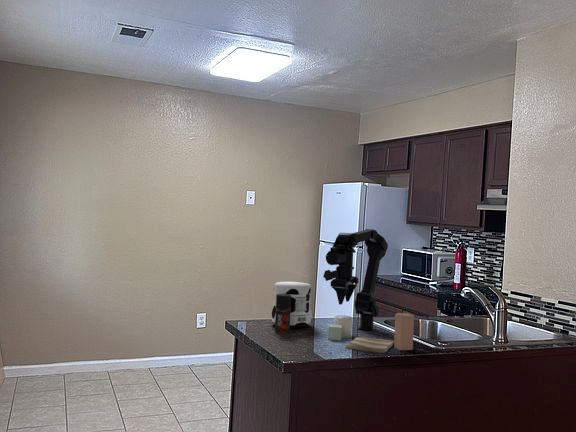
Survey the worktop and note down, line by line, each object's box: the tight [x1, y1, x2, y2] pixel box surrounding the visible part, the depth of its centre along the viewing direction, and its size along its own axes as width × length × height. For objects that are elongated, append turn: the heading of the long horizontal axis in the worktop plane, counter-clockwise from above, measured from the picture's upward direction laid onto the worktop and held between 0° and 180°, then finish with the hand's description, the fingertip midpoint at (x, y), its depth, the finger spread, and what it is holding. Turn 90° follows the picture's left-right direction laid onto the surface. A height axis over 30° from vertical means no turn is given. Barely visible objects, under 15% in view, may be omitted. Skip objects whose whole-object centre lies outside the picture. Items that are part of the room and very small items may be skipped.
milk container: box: [270, 281, 313, 329], centre depth 237 cm, size 17×17×18 cm
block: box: [327, 324, 343, 341], centre depth 216 cm, size 5×5×5 cm
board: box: [345, 336, 394, 354], centre depth 205 cm, size 16×14×1 cm
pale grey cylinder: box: [333, 314, 353, 338], centre depth 222 cm, size 7×7×8 cm
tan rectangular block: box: [393, 312, 415, 351], centre depth 204 cm, size 5×5×12 cm
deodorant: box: [274, 294, 291, 335], centre depth 224 cm, size 6×6×15 cm
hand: (343, 303), depth 222 cm, fingers open, 9 cm apart
